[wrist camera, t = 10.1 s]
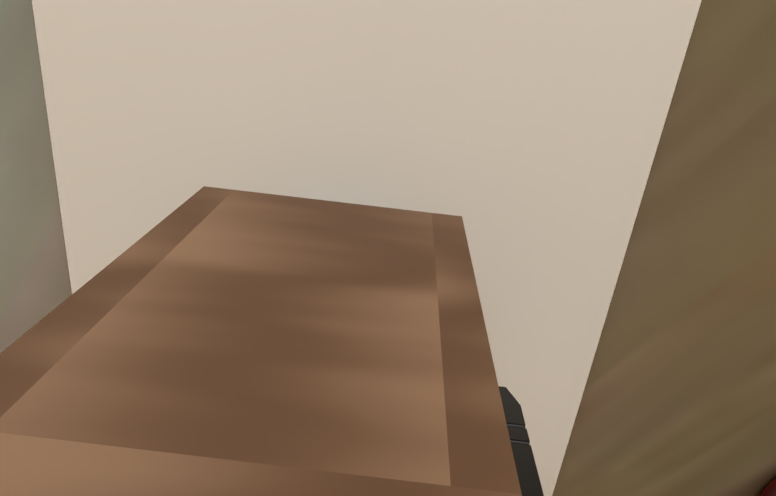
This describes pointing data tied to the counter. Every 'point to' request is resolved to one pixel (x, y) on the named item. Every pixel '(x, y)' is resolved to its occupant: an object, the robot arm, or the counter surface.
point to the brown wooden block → (264, 362)
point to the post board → (384, 140)
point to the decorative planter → (770, 489)
